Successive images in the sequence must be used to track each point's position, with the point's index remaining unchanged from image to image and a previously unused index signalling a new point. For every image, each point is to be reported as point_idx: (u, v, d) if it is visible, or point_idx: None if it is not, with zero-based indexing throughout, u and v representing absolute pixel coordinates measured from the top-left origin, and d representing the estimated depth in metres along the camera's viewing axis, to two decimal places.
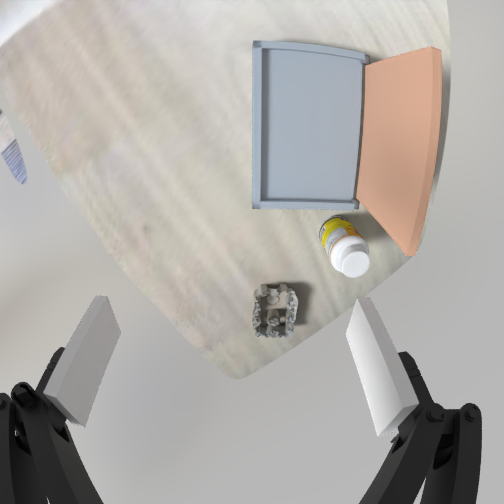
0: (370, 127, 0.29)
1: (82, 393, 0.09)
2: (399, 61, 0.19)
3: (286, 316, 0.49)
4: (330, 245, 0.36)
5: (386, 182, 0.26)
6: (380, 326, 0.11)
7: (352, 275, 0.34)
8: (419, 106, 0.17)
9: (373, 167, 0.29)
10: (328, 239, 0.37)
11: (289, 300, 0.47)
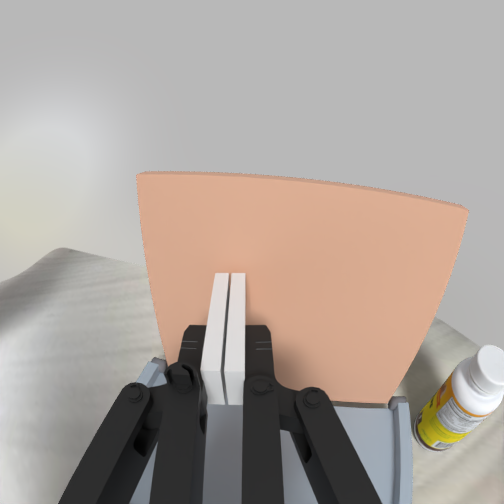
0: None
1: None
2: (156, 268, 0.17)
3: None
4: (470, 420, 0.12)
5: (365, 314, 0.15)
6: (240, 298, 0.13)
7: None
8: (224, 212, 0.14)
9: (338, 360, 0.17)
10: (458, 429, 0.13)
11: None
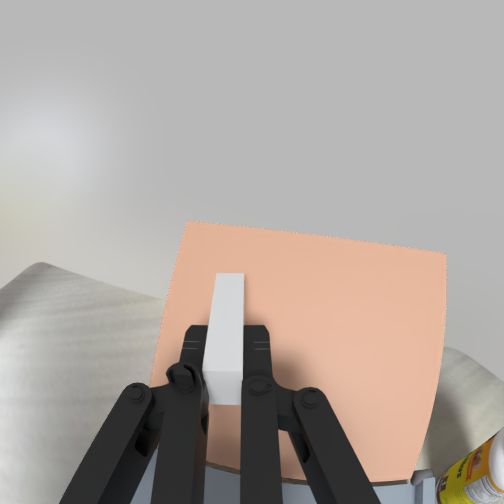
0: None
1: None
2: (175, 306, 0.17)
3: None
4: (501, 495, 0.05)
5: (378, 354, 0.15)
6: (239, 298, 0.13)
7: None
8: (257, 256, 0.18)
9: (355, 418, 0.13)
10: (486, 502, 0.06)
11: None
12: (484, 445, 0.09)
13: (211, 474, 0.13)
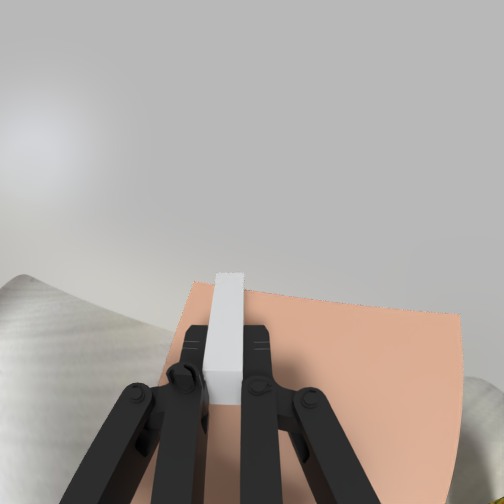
0: None
1: None
2: None
3: None
4: None
5: (397, 420, 0.11)
6: (238, 298, 0.13)
7: None
8: (269, 322, 0.16)
9: (373, 487, 0.09)
10: None
11: None
12: None
13: None
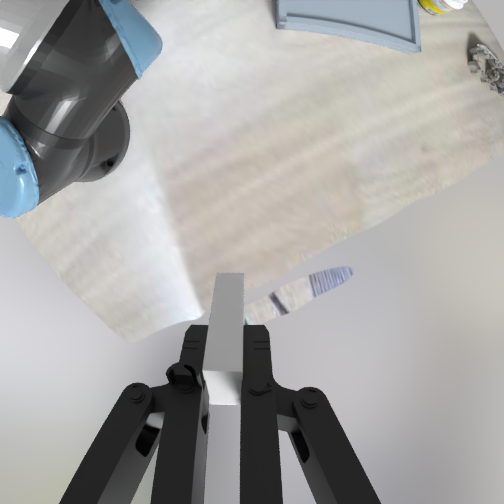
0: None
1: None
2: None
3: (493, 64, 0.26)
4: (444, 5, 0.20)
5: None
6: (238, 298, 0.13)
7: None
8: None
9: None
10: (439, 6, 0.21)
11: (483, 53, 0.26)
12: None
13: None
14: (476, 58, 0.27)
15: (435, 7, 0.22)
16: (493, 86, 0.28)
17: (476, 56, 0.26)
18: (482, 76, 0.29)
